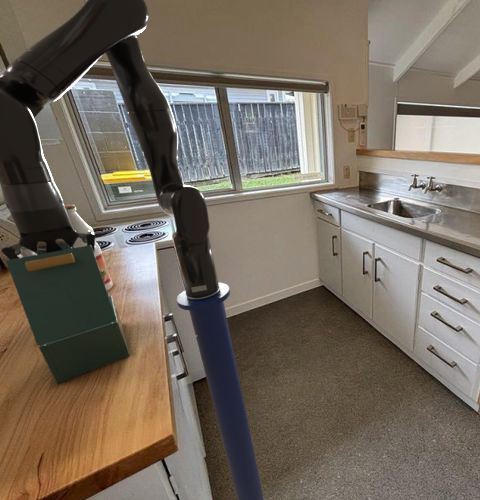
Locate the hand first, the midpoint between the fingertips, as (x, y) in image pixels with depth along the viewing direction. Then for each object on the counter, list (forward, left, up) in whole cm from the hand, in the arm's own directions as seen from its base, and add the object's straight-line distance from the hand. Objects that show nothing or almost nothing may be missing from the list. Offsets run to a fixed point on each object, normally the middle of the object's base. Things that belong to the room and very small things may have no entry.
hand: (68, 283), depth 61 cm
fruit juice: (-31, -16, -16) cm, 39 cm away
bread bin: (+3, +2, -16) cm, 16 cm away
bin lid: (+7, +4, +1) cm, 8 cm away
